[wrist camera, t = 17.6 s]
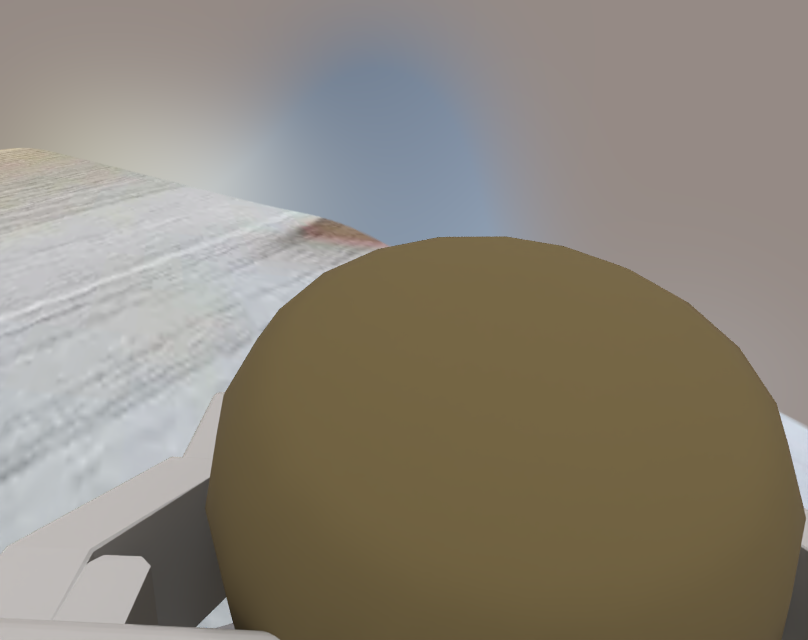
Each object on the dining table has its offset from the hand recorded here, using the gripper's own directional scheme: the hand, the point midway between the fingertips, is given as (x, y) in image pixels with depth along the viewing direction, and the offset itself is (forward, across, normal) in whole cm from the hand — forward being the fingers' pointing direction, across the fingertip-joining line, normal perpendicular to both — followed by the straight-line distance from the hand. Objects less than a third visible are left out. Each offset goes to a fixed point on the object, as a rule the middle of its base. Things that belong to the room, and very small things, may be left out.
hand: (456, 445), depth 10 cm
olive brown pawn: (0, 0, +7) cm, 7 cm away
